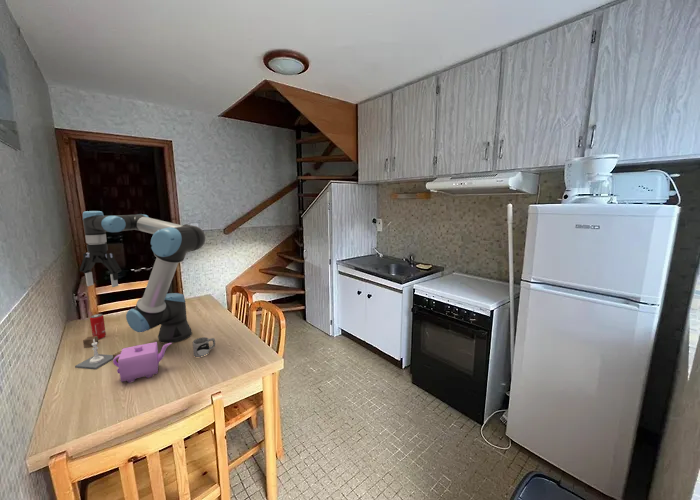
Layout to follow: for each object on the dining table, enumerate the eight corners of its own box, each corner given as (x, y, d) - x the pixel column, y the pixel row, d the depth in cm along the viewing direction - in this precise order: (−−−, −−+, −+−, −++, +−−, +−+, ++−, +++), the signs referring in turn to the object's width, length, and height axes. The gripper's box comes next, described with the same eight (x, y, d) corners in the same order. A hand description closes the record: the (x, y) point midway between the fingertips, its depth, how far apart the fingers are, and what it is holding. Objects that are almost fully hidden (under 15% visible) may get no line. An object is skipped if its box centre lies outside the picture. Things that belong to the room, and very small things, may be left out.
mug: (198, 359, 132) (196, 345, 131) (191, 354, 136) (189, 341, 135) (219, 350, 140) (218, 337, 139) (212, 346, 144) (211, 333, 143)
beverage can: (98, 340, 149) (95, 318, 147) (90, 339, 150) (87, 317, 148) (108, 335, 154) (105, 314, 152) (100, 334, 155) (97, 313, 153)
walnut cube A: (98, 343, 146) (97, 335, 145) (93, 347, 142) (92, 339, 141) (89, 344, 145) (88, 336, 144) (84, 348, 141) (82, 340, 140)
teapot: (113, 387, 112) (108, 357, 109) (117, 374, 120) (114, 345, 118) (174, 372, 121) (171, 344, 119) (174, 361, 130) (171, 334, 128)
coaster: (117, 357, 133) (117, 355, 133) (96, 369, 123) (95, 367, 123) (97, 355, 134) (97, 353, 134) (75, 367, 124) (74, 365, 124)
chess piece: (102, 356, 132) (99, 335, 130) (105, 360, 129) (102, 338, 127) (88, 360, 128) (85, 339, 127) (90, 364, 125) (87, 343, 124)
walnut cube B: (129, 360, 131) (128, 351, 130) (119, 364, 127) (118, 356, 126) (123, 358, 132) (122, 350, 132) (113, 362, 129) (112, 354, 128)
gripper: (127, 242, 143) (132, 284, 146) (81, 241, 146) (87, 282, 149) (113, 245, 136) (118, 289, 139) (65, 243, 138) (72, 287, 142)
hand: (102, 285), depth 144 cm, fingers open, 13 cm apart
